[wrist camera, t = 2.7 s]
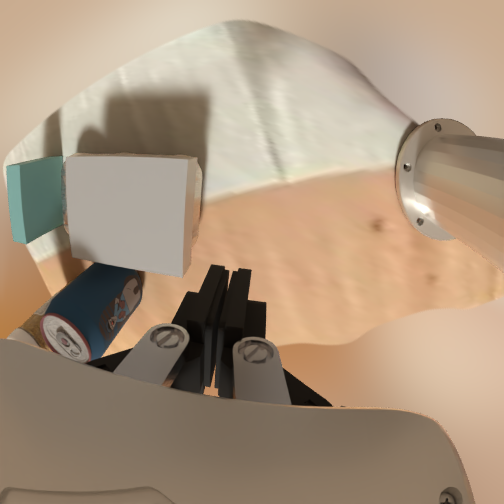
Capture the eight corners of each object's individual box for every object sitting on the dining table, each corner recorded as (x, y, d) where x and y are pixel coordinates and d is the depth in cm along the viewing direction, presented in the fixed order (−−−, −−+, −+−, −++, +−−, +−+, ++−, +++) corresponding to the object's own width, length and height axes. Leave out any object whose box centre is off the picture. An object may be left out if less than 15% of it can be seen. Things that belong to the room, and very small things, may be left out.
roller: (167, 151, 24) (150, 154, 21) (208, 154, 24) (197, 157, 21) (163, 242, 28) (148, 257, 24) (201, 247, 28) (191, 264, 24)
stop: (62, 155, 25) (19, 165, 19) (64, 223, 28) (26, 244, 22) (48, 156, 25) (6, 166, 19) (51, 221, 28) (13, 241, 22)
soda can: (87, 271, 30) (27, 326, 19) (118, 240, 29) (50, 294, 17) (123, 314, 32) (76, 379, 21) (158, 288, 30) (109, 360, 19)
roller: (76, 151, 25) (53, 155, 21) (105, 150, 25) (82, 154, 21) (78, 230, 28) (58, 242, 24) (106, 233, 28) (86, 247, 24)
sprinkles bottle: (99, 307, 32) (42, 376, 20) (76, 309, 33) (20, 371, 21) (85, 275, 31) (17, 338, 18) (62, 280, 31) (-1, 337, 19)
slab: (197, 157, 21) (188, 159, 18) (191, 264, 24) (182, 277, 22) (82, 154, 21) (65, 156, 19) (86, 247, 24) (72, 257, 22)
